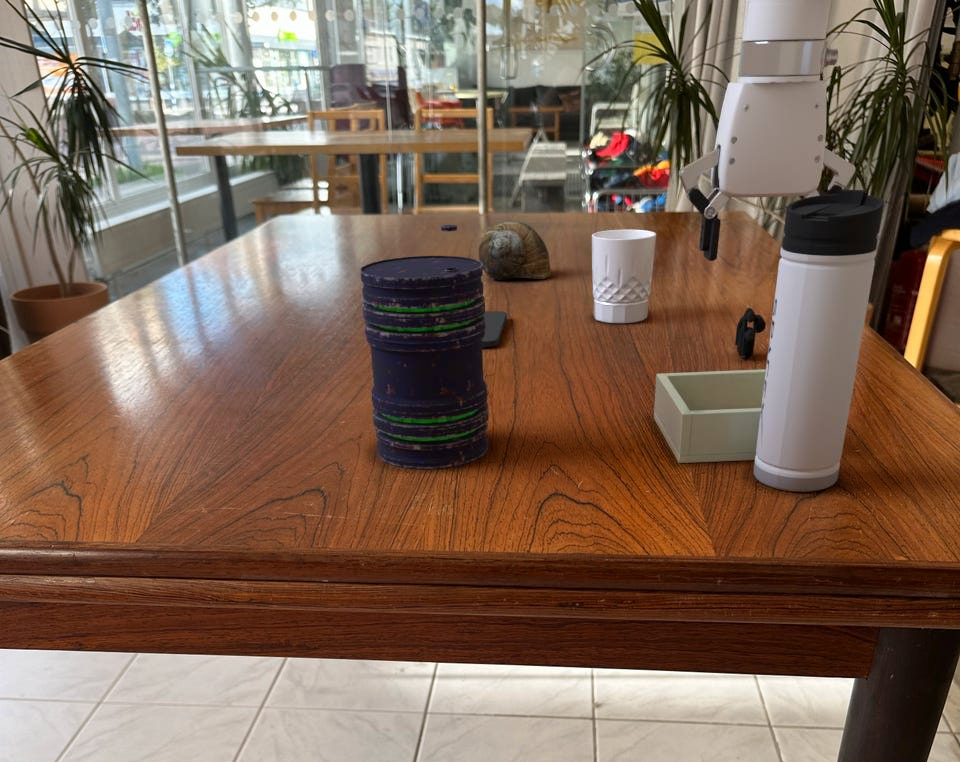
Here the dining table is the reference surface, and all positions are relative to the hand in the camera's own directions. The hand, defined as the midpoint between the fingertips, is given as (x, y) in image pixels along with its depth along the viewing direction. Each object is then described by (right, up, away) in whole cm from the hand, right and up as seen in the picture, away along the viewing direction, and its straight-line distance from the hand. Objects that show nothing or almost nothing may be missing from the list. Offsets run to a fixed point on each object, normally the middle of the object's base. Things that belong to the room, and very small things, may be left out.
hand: (755, 257), depth 98 cm
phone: (-30, -2, +19) cm, 35 cm away
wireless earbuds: (+1, -9, +5) cm, 11 cm away
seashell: (-23, +17, +49) cm, 57 cm away
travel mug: (-4, -27, -24) cm, 37 cm away
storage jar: (-33, -23, -16) cm, 43 cm away
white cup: (-11, +1, +23) cm, 26 cm away
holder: (-7, -22, -16) cm, 28 cm away
